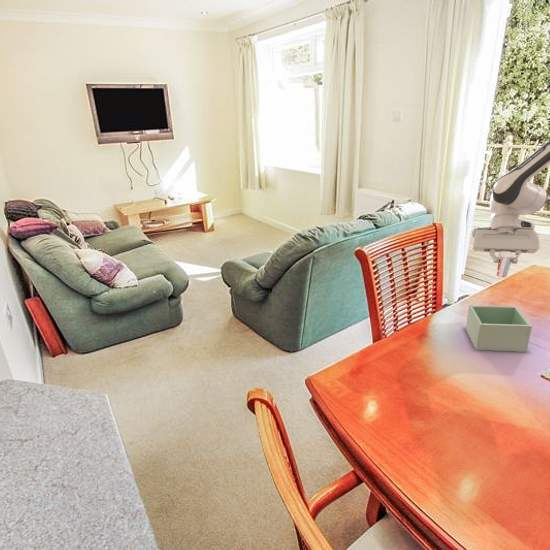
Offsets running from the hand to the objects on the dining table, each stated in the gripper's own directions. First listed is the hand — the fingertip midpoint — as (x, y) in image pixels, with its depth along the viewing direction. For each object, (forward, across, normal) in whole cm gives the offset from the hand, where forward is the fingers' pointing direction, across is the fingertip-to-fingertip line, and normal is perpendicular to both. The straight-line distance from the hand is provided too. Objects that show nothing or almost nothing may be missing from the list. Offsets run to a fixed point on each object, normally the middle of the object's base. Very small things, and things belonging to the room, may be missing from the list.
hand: (505, 262), depth 130 cm
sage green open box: (+29, -6, -8) cm, 31 cm away
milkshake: (+4, 0, +4) cm, 6 cm away
